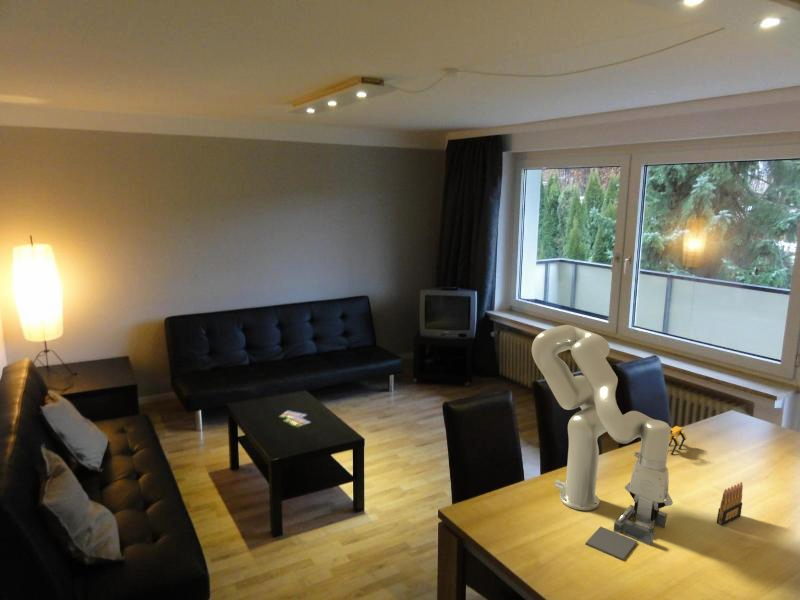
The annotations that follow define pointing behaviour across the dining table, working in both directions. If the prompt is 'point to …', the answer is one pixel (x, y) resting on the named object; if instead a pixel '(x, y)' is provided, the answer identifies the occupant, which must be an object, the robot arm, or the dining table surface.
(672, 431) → the robot dog
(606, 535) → the mat
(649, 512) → the steel post
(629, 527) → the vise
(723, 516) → the ammunition clip
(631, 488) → the robot arm
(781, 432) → the dining table surface
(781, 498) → the dining table surface
